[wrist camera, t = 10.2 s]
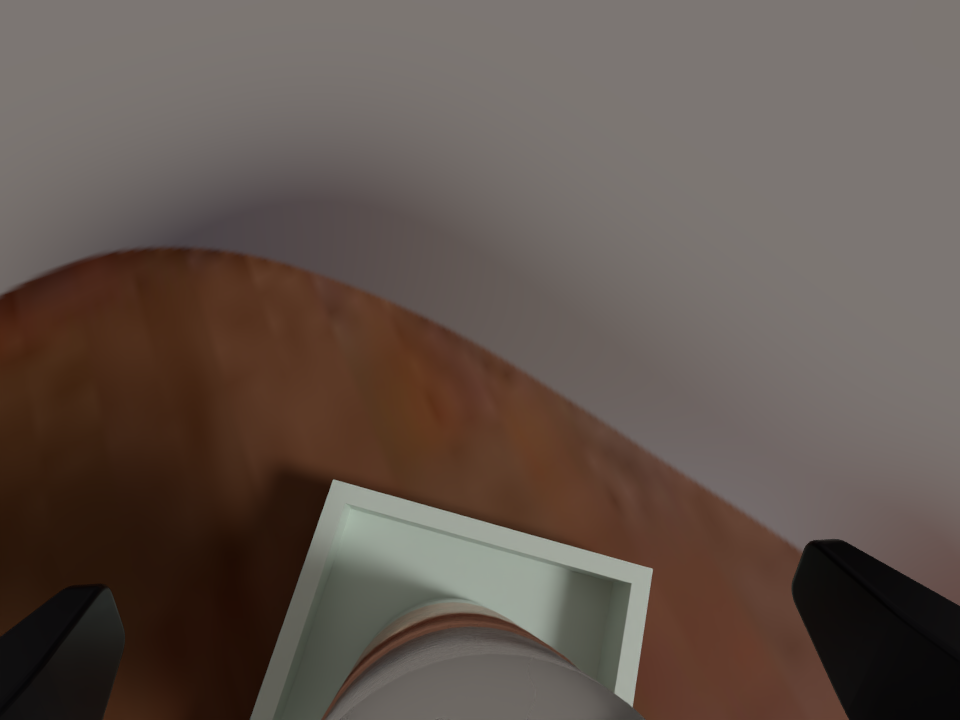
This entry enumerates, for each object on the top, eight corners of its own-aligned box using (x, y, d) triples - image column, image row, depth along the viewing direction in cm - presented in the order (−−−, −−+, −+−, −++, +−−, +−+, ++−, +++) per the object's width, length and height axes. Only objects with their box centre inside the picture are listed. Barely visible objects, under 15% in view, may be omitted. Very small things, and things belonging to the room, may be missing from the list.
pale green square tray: (566, 934, 18) (590, 990, 15) (223, 840, 18) (193, 882, 15) (626, 568, 21) (652, 569, 19) (342, 489, 21) (333, 479, 19)
